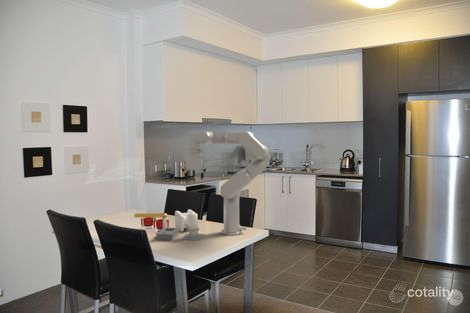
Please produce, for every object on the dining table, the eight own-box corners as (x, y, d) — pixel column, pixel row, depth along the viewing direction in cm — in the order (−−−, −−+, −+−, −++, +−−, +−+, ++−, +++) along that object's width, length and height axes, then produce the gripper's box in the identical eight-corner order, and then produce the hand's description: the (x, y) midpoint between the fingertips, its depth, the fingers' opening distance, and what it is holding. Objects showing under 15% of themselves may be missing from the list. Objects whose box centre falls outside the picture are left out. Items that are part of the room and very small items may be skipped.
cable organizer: (196, 231, 235) (196, 213, 234) (180, 233, 231) (179, 214, 230) (190, 226, 249) (189, 208, 248) (174, 228, 245) (173, 210, 244)
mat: (204, 234, 226) (204, 233, 226) (200, 240, 214) (200, 239, 214) (186, 234, 227) (186, 233, 227) (181, 239, 215) (181, 238, 215)
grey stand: (178, 233, 230) (178, 212, 229) (171, 240, 214) (171, 217, 213) (164, 233, 231) (164, 212, 230) (156, 240, 215) (155, 217, 214)
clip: (135, 216, 216) (135, 213, 216) (167, 216, 216) (167, 213, 216) (134, 217, 213) (134, 214, 213) (166, 217, 213) (166, 214, 213)
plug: (200, 235, 224) (199, 213, 223) (197, 237, 217) (197, 215, 217) (189, 234, 224) (189, 213, 224) (186, 237, 218) (186, 215, 217)
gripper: (208, 151, 238) (208, 178, 239) (181, 151, 239) (181, 178, 239) (207, 151, 230) (207, 180, 231) (178, 151, 231) (179, 179, 232)
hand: (194, 179), depth 235 cm, fingers open, 9 cm apart
